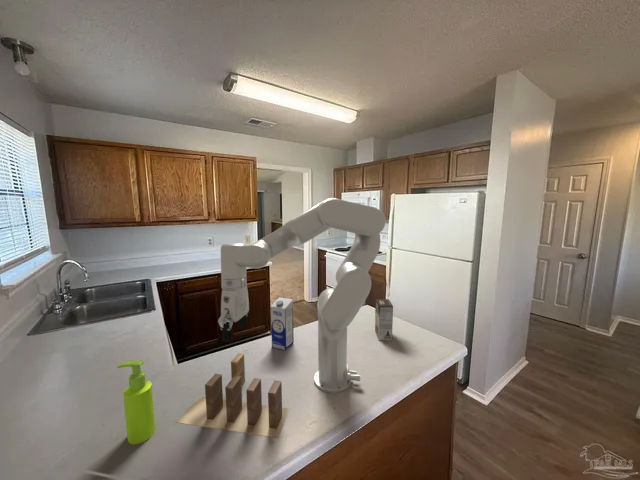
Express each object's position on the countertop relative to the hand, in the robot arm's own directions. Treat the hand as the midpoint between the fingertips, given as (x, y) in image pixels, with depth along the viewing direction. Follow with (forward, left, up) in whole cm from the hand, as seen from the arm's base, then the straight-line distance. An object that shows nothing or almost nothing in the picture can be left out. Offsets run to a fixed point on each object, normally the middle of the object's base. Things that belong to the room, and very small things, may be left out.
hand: (235, 334), depth 84 cm
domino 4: (-11, +12, -18) cm, 24 cm away
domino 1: (+1, +12, -18) cm, 21 cm away
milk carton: (-6, -28, -18) cm, 34 cm away
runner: (-5, +12, -18) cm, 22 cm away
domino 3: (-5, +12, -18) cm, 22 cm away
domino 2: (0, 0, -18) cm, 18 cm away
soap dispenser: (+16, +22, -18) cm, 32 cm away
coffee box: (-49, -44, -18) cm, 69 cm away
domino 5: (-17, +12, -18) cm, 27 cm away
